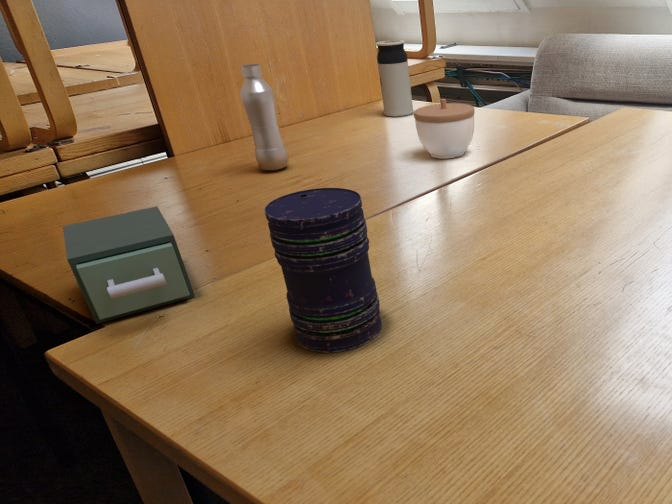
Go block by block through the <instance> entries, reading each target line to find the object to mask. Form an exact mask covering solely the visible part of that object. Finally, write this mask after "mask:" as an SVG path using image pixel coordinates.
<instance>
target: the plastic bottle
mask: <svg viewBox="0 0 672 504" xmlns="http://www.w3.org/2000/svg"><path fill="white" fill-rule="evenodd" d="M240 70H241V76H242V78H244V79H243V80H244V81H243V83H242V85H241V89H240V91H239V92H240V95H239V97H240V100H241V103H242V106H243V108H244V110H245V113H246V115H247V119H248V121H249V122H248V123H249V124H250V128H251V130H252V131H251V132H252V138H253V142H254V143H253V144H254V147H255V148H254V153H255V160H256V162H257V165H258V167H259V168H260V169H261V170H264V171H278V170H280V169H284V168H286V167H287V166H288V164H289V152H288V150H287V147H286V146H285V144H284V141H283V137H282V134H281V131H280V128H279V123H278V116H277V109H276V100H275V94H274V91H273V88H272V87H271V86H270V85H269V84H268V82H267V81H266V80H265V79H264V78H263V77H262V76H263V71H262V68H261V64H260V63H252V64H245V65H241V66H240Z"/></svg>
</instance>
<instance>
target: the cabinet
mask: <svg viewBox="0 0 672 504" xmlns="http://www.w3.org/2000/svg"><path fill="white" fill-rule="evenodd" d="M163 215H164V214H162V212H161V210H160V209H159V207H158V205H157V206H151V207H146V208H141V209H138V210H132V211H128V212H124V213H119V214H114V215H110V216H104V217H100V218H96V219H91V220H86V221H81V222H77V223H71V224H66V225H63V226H62V230H63V239H64V245H65V253H66V255H65V256H66V260H67V262H68V265H69V268H70V270H71V272H72V274H73V276H74V278H75V280H76V283H77V284H78V286H79V289H80V291H81V293H82V296H83V298H84V300H85V302H86V304H87V306H88V309H89V311H90V313H91V315H92V318H93V320H94V322H95V324H96V325H99V324H101V323H105V322H109V321H113V320H116V319H120V318H124V317H127V316H131V315H135V314H138V313H141V312H145V311H149V310H153V309H155V308H156V309H157V308H161V307H163V306H167V305H171V304H174V303H178V302H181V301H185V300H188V299H192V298H196V295H195V292H194V289H193V287H192V284H191V281H190V278H189V276H188V272H187V269H186V266H185V263H184V260H183V257H182V254H181V252H180V249H179V246H178V244H177V240H176V237H175V235H174V233H173V231H172V229H171V228H170V226H169V224H168V223H167V221H166V219H165V217H164V216H163ZM162 243H164V244H168V243H171V244H172V246H173V249H174V251H175V254H176V257H177V260H178V263H179V266H180V269H181V271H182V274H183V277H184V280H185V283H186V286H187V288H188V291H189V294H190V295H189V296H185V297H181V298H178V299H174V300H171V301H167V302H163V303H160V304H156V305H152V306H149V307H145V308H141V309H138V310H134V311H130V312H127V313H123V314H119V315H116V316H112V317H109V318H105V319H101V320H100V319H99V317H98V315H97V312H96V310H95V308H94V306H93V304H92V301H91V299H90V297H89V295H88V293H87V290H86V288H85V286H84V284H83V282H82V279H81V277H80V275H79V273H78V271H77V267H76V265H79V264H83V262H86V261H90V260H94V259H98V258H103V257H107V256H111V255H115V254H120V253H124V252H128V251H132V250H136V249H141V248H145V247H149V246H153V245H158V244H162Z"/></svg>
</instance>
